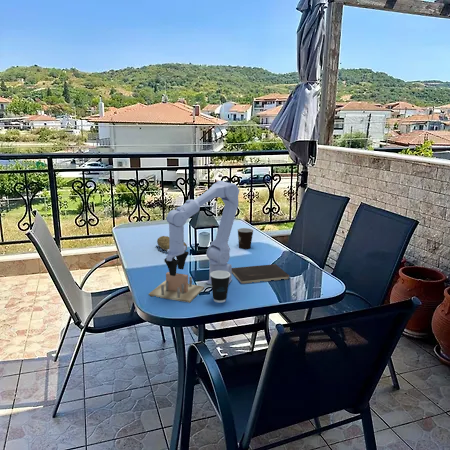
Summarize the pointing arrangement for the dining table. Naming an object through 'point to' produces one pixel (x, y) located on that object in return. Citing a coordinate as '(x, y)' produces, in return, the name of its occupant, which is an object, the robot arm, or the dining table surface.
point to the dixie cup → (220, 285)
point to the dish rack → (177, 292)
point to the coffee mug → (245, 238)
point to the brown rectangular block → (177, 281)
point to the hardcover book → (259, 273)
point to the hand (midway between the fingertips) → (176, 272)
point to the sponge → (165, 242)
